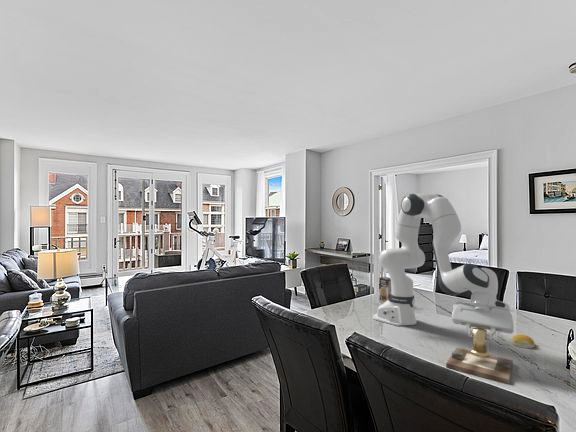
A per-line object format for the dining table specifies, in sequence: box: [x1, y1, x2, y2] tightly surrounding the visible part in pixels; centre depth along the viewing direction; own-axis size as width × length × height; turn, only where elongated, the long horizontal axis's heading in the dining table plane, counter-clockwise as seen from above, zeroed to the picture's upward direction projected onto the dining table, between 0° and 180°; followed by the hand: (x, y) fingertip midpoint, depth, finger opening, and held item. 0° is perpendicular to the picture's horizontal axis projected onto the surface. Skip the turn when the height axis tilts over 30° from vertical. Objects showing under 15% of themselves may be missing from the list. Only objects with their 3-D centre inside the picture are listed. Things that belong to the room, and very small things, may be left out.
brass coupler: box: [469, 327, 491, 358], centre depth 117 cm, size 6×6×9 cm
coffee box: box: [378, 276, 391, 304], centre depth 204 cm, size 9×6×16 cm
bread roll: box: [510, 334, 536, 349], centre depth 137 cm, size 8×9×4 cm
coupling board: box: [445, 347, 514, 385], centre depth 117 cm, size 19×18×3 cm
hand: (479, 337), depth 116 cm, fingers closed on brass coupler, 4 cm apart
